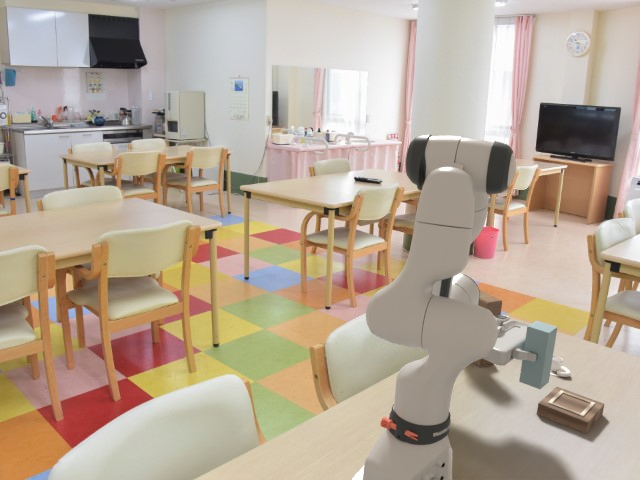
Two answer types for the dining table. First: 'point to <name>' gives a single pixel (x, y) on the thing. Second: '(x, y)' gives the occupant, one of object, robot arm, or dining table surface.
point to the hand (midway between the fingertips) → (542, 353)
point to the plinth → (570, 409)
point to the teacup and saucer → (559, 367)
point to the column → (542, 343)
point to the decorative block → (495, 308)
